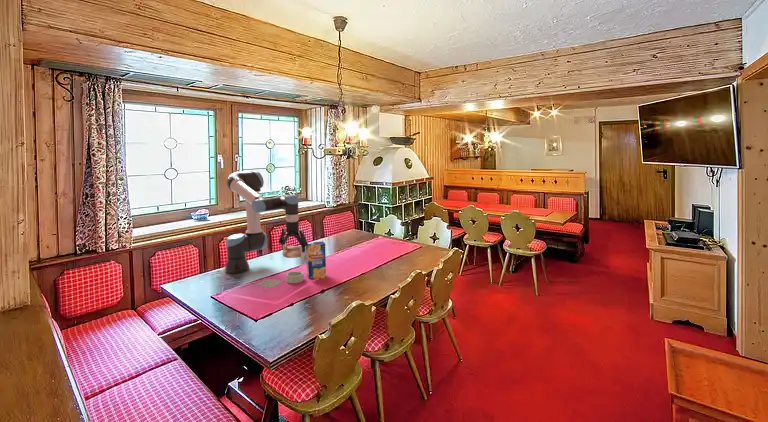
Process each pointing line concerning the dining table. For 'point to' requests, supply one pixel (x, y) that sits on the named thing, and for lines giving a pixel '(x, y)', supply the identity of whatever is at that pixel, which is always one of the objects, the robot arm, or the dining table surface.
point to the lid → (292, 252)
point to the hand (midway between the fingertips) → (293, 256)
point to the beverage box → (316, 260)
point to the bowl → (294, 277)
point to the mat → (269, 283)
